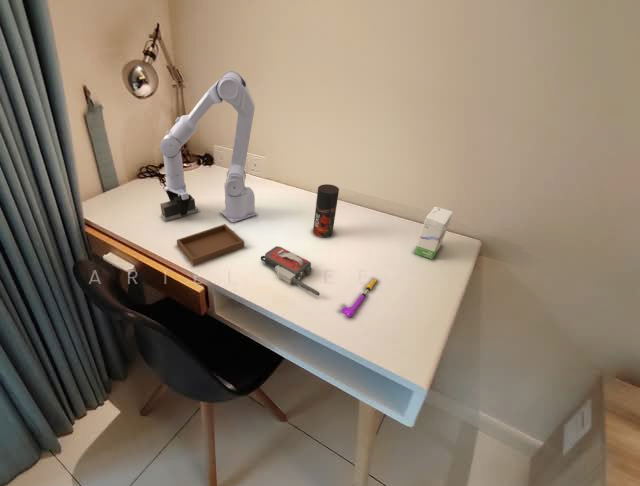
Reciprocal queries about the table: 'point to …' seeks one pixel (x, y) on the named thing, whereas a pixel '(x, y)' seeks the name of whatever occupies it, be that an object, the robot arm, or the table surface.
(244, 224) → the table surface
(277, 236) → the table surface
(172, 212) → the dark grey eraser block
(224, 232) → the tray
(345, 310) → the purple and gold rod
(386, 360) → the table surface
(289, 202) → the table surface
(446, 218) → the ink box
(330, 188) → the deodorant
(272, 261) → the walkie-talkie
